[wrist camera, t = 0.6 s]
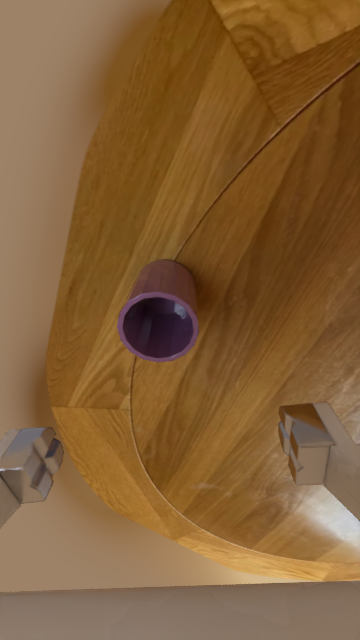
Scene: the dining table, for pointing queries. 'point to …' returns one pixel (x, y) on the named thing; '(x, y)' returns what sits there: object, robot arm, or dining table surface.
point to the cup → (160, 313)
